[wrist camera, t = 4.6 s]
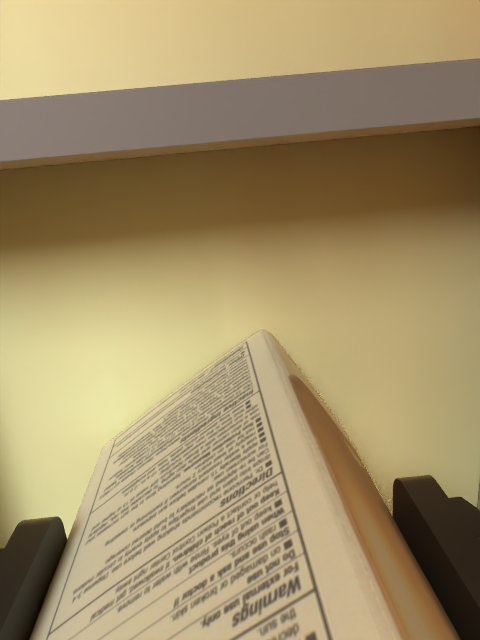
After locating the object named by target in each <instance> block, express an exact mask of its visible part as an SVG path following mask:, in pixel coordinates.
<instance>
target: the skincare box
mask: <svg viewBox="0 0 480 640" xmlns="http://www.w3.org/2000/svg"><path fill="white" fill-rule="evenodd" d="M29 640H461V639H460V637H459V635H458V633H457V632H456V630H455V628H454V626H453V624H452V623H451V621H450V619H449V617H448V616H447V614H446V612H445V610H444V608H443V607H442V605H441V603H440V601H439V599H438V598H437V596H436V594H435V592H434V591H433V589H432V587H431V585H430V583H429V582H428V580H427V578H426V576H425V575H424V573H423V571H422V569H421V567H420V566H419V564H418V562H417V560H416V558H415V557H414V555H413V553H412V551H411V549H410V548H409V546H408V544H407V542H406V541H405V539H404V537H403V535H402V533H401V532H400V530H399V528H398V526H397V524H396V523H395V521H394V519H393V517H392V515H391V514H390V512H389V510H388V508H387V506H386V505H385V503H384V501H383V499H382V498H381V496H380V494H379V492H378V490H377V489H376V487H375V485H374V483H373V482H372V480H371V478H370V476H369V474H368V473H367V471H366V469H365V467H364V465H363V464H362V462H361V460H360V458H359V456H358V455H357V453H356V451H355V449H354V448H353V446H352V444H351V442H350V441H349V439H348V437H347V435H346V433H345V431H344V430H343V428H342V426H341V425H340V424H339V422H338V421H337V420H336V418H335V417H334V415H333V414H332V413H331V411H330V410H329V408H328V407H327V406H326V404H325V403H324V402H323V400H322V399H321V398H320V396H319V395H318V394H317V392H316V391H315V390H314V388H313V387H312V385H311V384H310V383H309V381H308V380H307V379H306V377H305V376H304V375H303V373H302V372H301V371H300V369H299V368H298V367H297V366H296V364H295V363H294V362H293V361H292V359H291V358H290V357H289V355H288V354H287V353H286V352H285V350H284V349H283V348H282V347H281V345H280V344H279V343H278V341H277V340H276V339H275V338H274V337H273V335H272V334H271V333H269V332H268V331H266V330H261V331H258V332H256V333H255V334H253V335H252V336H250V337H249V338H248V339H246V340H245V341H243V342H242V343H240V344H239V345H237V346H236V347H234V348H233V349H232V350H230V351H229V352H227V353H226V354H225V355H223V356H222V357H220V358H219V359H217V360H216V361H215V362H213V363H212V364H210V365H209V366H208V367H206V368H205V369H203V370H202V371H201V372H199V373H198V374H197V375H195V376H194V377H193V378H191V379H190V380H188V381H187V382H186V383H184V384H183V385H182V386H180V387H179V388H178V389H176V390H175V391H174V392H172V393H171V394H170V395H168V396H167V397H166V398H164V399H163V400H162V401H160V402H159V403H158V404H157V405H155V406H154V407H153V408H151V409H150V410H149V411H147V412H146V413H145V414H144V415H142V416H141V417H140V418H138V419H137V420H136V421H135V422H133V423H132V424H131V425H130V426H128V427H127V428H126V429H124V430H123V431H122V432H121V433H119V434H118V435H117V436H116V437H115V438H113V439H112V440H111V441H109V442H108V443H107V444H106V445H105V446H104V447H103V449H102V451H101V453H100V456H99V458H98V461H97V464H96V466H95V469H94V472H93V474H92V477H91V479H90V482H89V484H88V487H87V490H86V492H85V495H84V498H83V501H82V503H81V506H80V508H79V511H78V514H77V516H76V519H75V522H74V524H73V527H72V529H71V532H70V535H69V537H68V540H67V543H66V545H65V548H64V550H63V553H62V556H61V558H60V561H59V564H58V566H57V569H56V571H55V573H54V576H53V578H52V581H51V584H50V586H49V589H48V591H47V594H46V597H45V600H44V602H43V605H42V608H41V610H40V613H39V615H38V618H37V620H36V623H35V626H34V628H33V631H32V634H31V636H30V639H29Z"/></svg>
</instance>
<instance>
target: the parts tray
mask: <svg viewBox="0 0 480 640" xmlns="http://www.w3.org/2000/svg"><path fill="white" fill-rule="evenodd" d="M473 126H480V59H469V60H457V61H446V62H434V63H423V64H411V65H400V66H388V67H377V68H365V69H354V70H343V71H331V72H320V73H308V74H297V75H285V76H274V77H262V78H251V79H239V80H228V81H216V82H205V83H193V84H182V85H170V86H159V87H148V88H136V89H125V90H113V91H102V92H90V93H79V94H67V95H56V96H44V97H33V98H21V99H10V100H0V170H3V169H14V168H25V167H36V166H47V165H58V164H69V163H79V162H90V161H101V160H112V159H123V158H134V157H145V156H156V155H167V154H178V153H189V152H200V151H211V150H221V149H232V148H243V147H254V146H265V145H276V144H287V143H298V142H309V141H320V140H331V139H342V138H353V137H364V136H374V135H385V134H396V133H407V132H418V131H429V130H440V129H451V128H462V127H473ZM478 509H479V510H480V485H479V496H478Z"/></svg>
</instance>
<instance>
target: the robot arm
mask: <svg viewBox="0 0 480 640" xmlns="http://www.w3.org/2000/svg"><path fill="white" fill-rule="evenodd" d="M393 519H394V521H395V523H396V524H397V526H398V528H399V530H400V532H401V533H402V535H403V537H404V539H405V541H406V542H407V544H408V546H409V548H410V549H411V551H412V553H413V555H414V557H415V558H416V560H417V562H418V564H419V566H420V567H421V569H422V571H423V573H424V575H425V576H426V578H427V580H428V582H429V583H430V585H431V587H432V589H433V591H434V592H435V594H436V596H437V598H438V599H439V601H440V603H441V605H442V607H443V608H444V610H445V612H446V614H447V616H448V617H449V619H450V621H451V623H452V624H453V626H454V628H455V630H456V632H457V633H458V635H459V637H460V639H461V640H480V510H479V509H478V508H476V507H475V506H473V505H472V504H470V503H469V502H468V501H466V500H465V499H463V498H462V497H454V498H448V497H447V495H446V494H445V493H444V491H443V490H442V488H441V487H440V486H439V484H438V483H437V482H436V480H435V479H434V478H433V477H432V476H430V475H424V476H416V477H407V478H398V479H395V481H394V484H393ZM66 543H67V537H66V534H65V530H64V526H63V522H62V520H61V519H60V518H59V517H48V518H39V519H31V520H23V521H21V522H20V523H19V524H18V525H17V527H16V528H15V530H14V532H13V534H12V536H11V538H10V539H9V541H8V543H7V545H6V547H5V548H4V549H0V640H29V639H30V636H31V634H32V631H33V628H34V626H35V623H36V620H37V618H38V615H39V613H40V610H41V608H42V605H43V602H44V600H45V597H46V594H47V591H48V589H49V586H50V584H51V581H52V578H53V576H54V573H55V571H56V569H57V566H58V564H59V561H60V558H61V556H62V553H63V550H64V548H65V545H66Z"/></svg>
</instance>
